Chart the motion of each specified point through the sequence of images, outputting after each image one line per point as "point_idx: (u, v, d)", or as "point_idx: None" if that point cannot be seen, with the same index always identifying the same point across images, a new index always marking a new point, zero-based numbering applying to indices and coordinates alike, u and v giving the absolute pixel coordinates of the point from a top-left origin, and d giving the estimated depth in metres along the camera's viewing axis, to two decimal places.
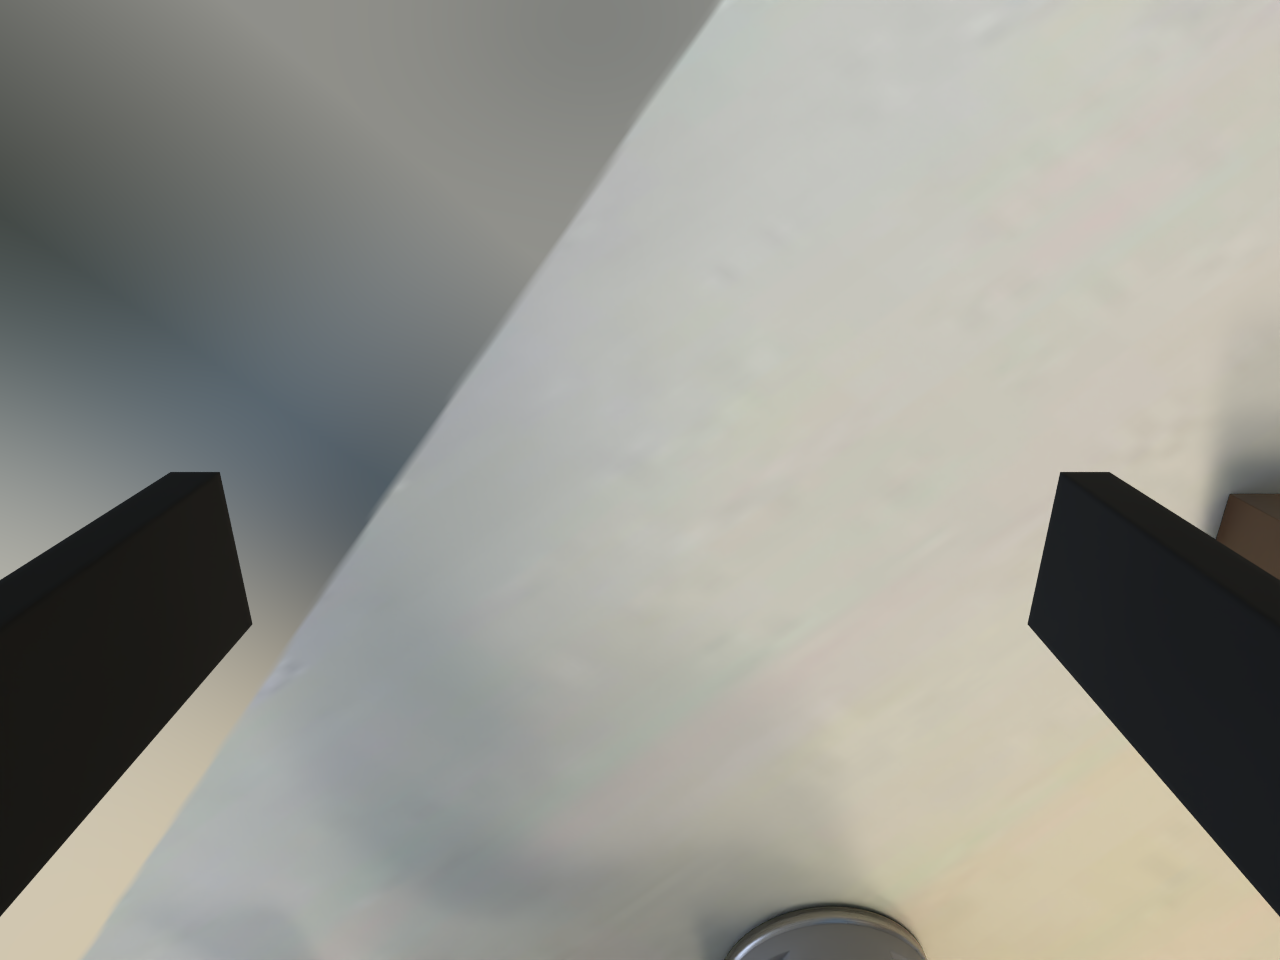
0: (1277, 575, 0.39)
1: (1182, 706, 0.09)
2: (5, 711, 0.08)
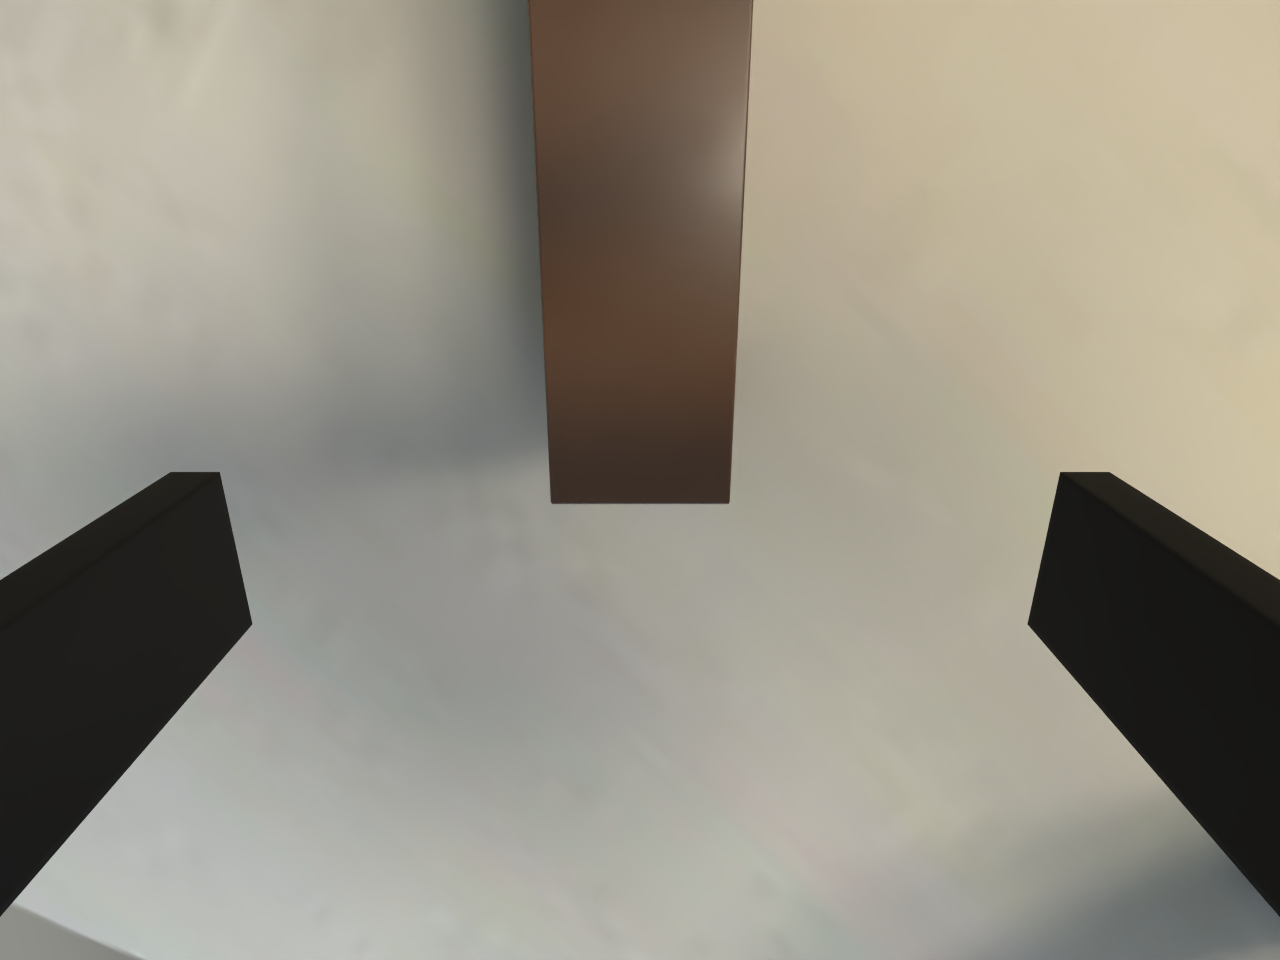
0: None
1: (1182, 706, 0.09)
2: (4, 711, 0.08)
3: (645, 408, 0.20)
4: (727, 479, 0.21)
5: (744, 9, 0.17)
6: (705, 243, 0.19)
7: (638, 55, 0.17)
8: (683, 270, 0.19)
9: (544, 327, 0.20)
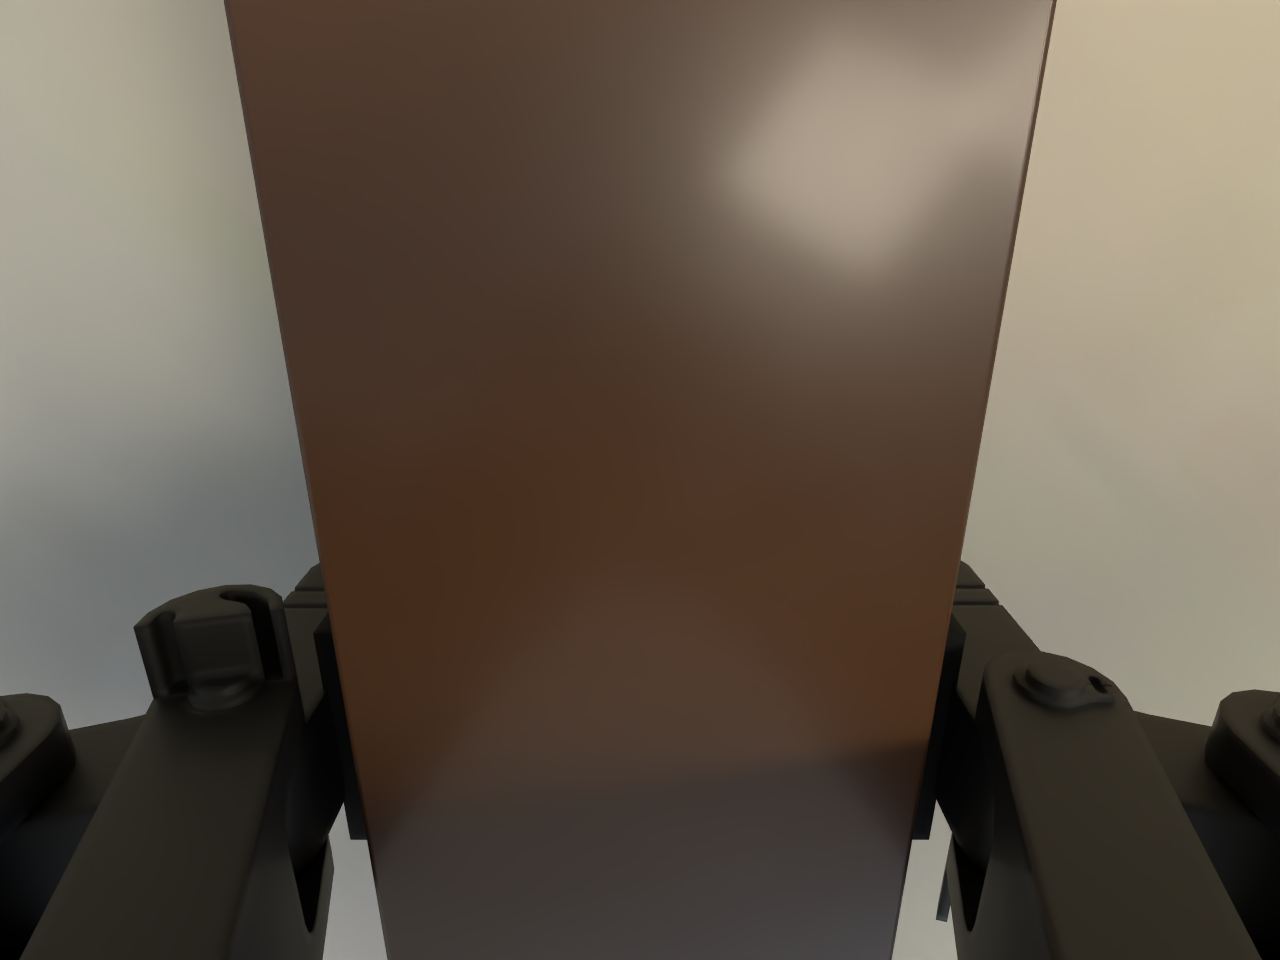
0: None
1: None
2: None
3: (653, 853, 0.07)
4: None
5: None
6: (865, 410, 0.06)
7: None
8: (783, 493, 0.06)
9: (337, 655, 0.06)
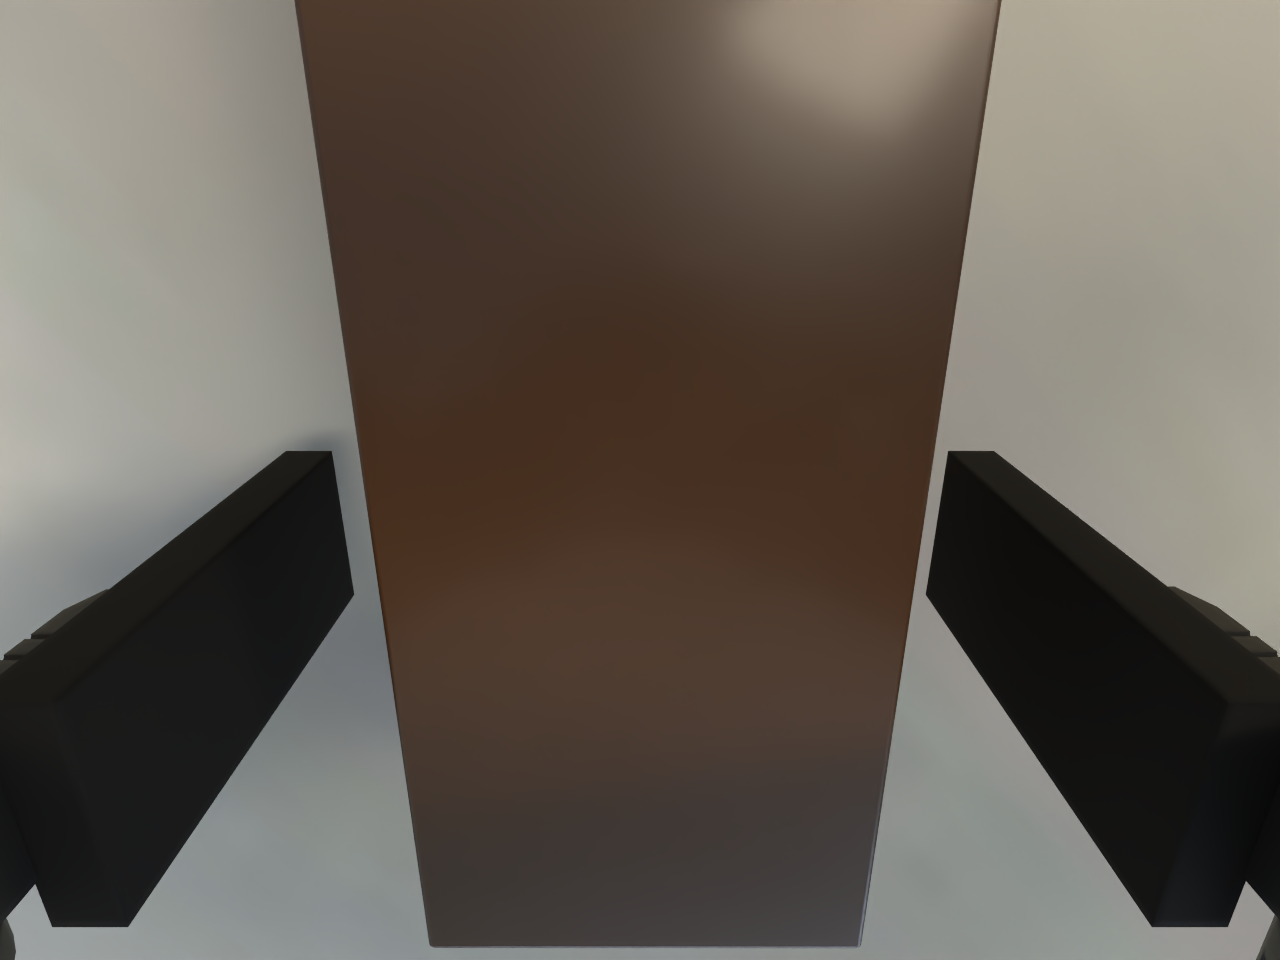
0: None
1: (1029, 659, 0.10)
2: (190, 655, 0.09)
3: (658, 758, 0.08)
4: (860, 901, 0.09)
5: None
6: (844, 345, 0.06)
7: None
8: (772, 420, 0.07)
9: (378, 570, 0.07)
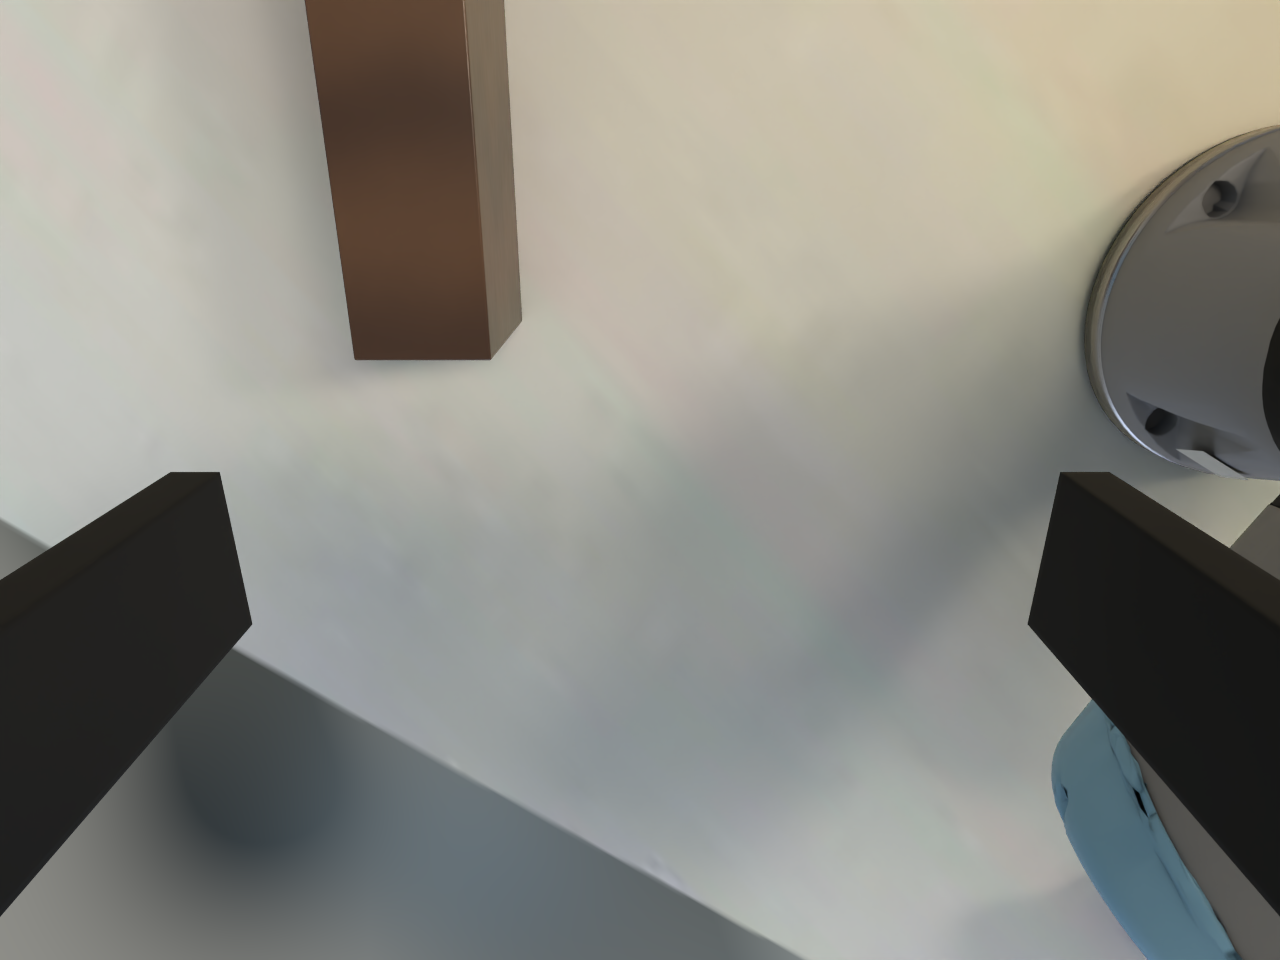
0: None
1: (1182, 706, 0.09)
2: (4, 711, 0.08)
3: (418, 281, 0.27)
4: (487, 339, 0.28)
5: None
6: (448, 151, 0.26)
7: (383, 10, 0.24)
8: (434, 172, 0.26)
9: (335, 217, 0.26)
